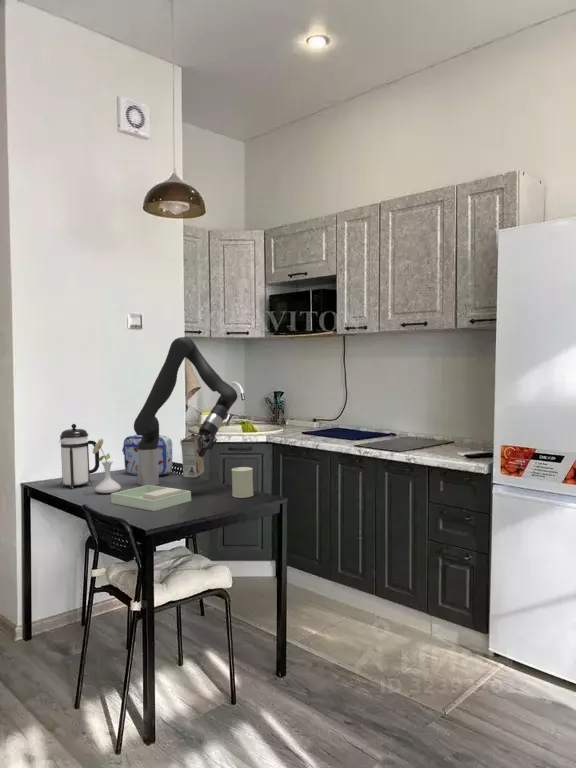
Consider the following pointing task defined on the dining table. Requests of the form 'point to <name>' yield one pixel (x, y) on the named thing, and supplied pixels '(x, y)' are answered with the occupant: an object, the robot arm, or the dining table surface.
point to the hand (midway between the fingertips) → (193, 455)
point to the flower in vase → (107, 483)
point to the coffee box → (192, 456)
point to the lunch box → (132, 454)
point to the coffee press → (76, 457)
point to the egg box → (161, 493)
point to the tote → (135, 499)
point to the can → (242, 482)
